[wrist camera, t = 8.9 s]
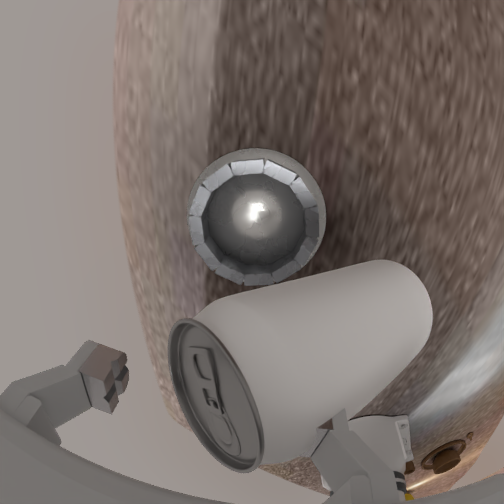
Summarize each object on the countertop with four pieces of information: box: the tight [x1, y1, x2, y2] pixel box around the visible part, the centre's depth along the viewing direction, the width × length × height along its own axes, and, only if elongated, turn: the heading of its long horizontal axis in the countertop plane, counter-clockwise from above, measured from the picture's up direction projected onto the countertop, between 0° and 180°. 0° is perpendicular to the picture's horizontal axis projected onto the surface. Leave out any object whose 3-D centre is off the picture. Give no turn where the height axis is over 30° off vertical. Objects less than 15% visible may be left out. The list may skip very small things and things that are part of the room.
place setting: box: [404, 432, 474, 474], centre depth 42 cm, size 18×20×6 cm
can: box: [168, 260, 433, 473], centre depth 12 cm, size 6×6×12 cm
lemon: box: [405, 494, 414, 501], centre depth 50 cm, size 6×6×8 cm
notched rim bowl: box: [187, 148, 326, 286], centre depth 29 cm, size 14×14×3 cm
